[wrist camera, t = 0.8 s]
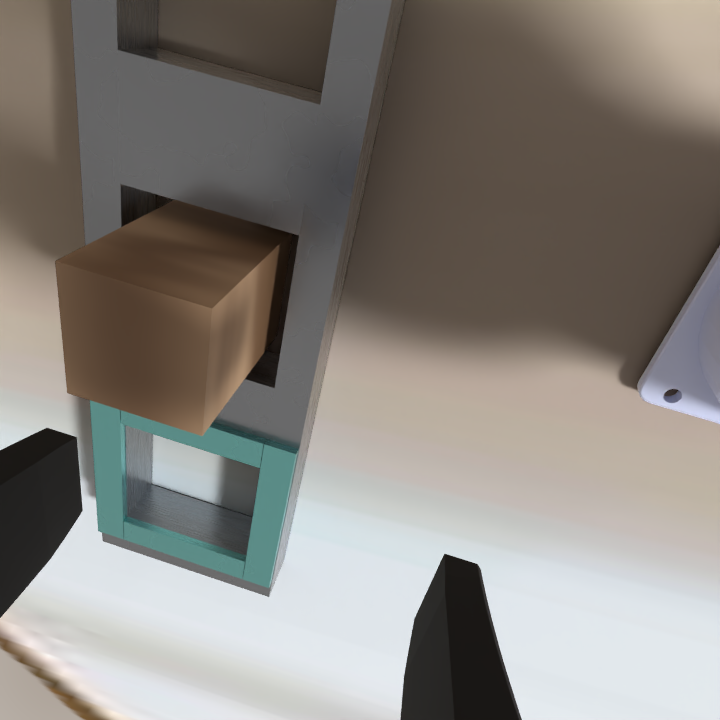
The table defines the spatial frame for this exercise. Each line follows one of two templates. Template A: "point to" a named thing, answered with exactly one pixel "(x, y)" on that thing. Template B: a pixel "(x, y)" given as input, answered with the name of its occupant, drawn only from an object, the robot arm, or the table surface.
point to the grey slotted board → (245, 201)
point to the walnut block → (171, 312)
